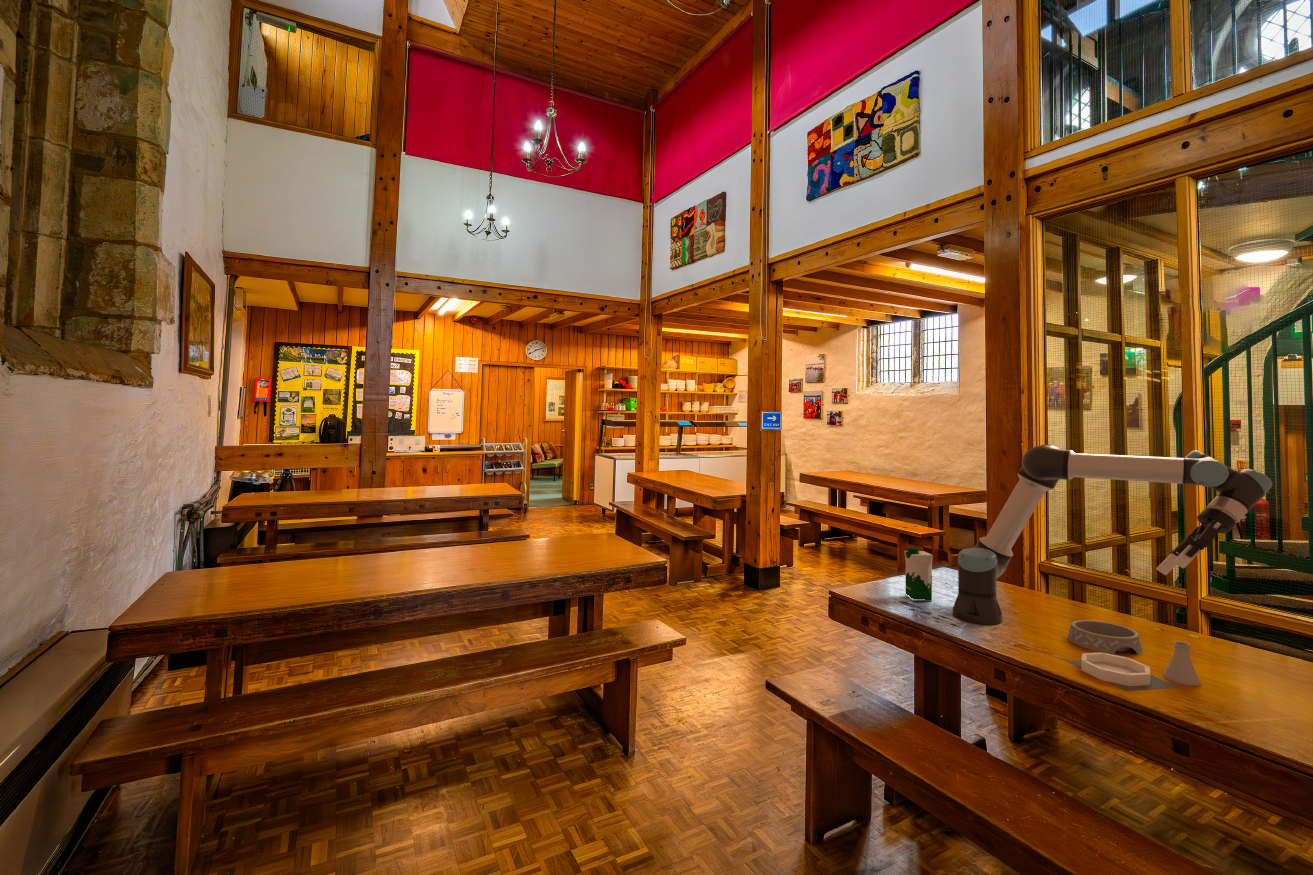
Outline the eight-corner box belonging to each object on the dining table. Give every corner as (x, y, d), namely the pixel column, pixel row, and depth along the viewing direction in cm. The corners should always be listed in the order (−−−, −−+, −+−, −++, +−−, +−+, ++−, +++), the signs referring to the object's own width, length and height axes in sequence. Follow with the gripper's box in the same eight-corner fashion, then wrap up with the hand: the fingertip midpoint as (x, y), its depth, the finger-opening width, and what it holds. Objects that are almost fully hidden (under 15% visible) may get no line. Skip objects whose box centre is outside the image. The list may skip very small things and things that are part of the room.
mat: (1066, 662, 157) (1066, 660, 157) (1115, 659, 159) (1115, 658, 159) (1125, 691, 139) (1125, 690, 139) (1179, 688, 141) (1179, 687, 141)
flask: (1208, 688, 141) (1209, 649, 141) (1175, 686, 142) (1175, 647, 142) (1187, 676, 148) (1187, 639, 148) (1156, 674, 150) (1156, 637, 149)
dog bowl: (1054, 635, 179) (1054, 618, 179) (1112, 635, 179) (1112, 618, 179) (1094, 656, 162) (1094, 638, 162) (1159, 656, 162) (1159, 638, 161)
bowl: (1068, 663, 155) (1068, 653, 155) (1115, 661, 157) (1115, 651, 157) (1114, 686, 141) (1114, 675, 141) (1164, 684, 143) (1164, 673, 143)
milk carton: (902, 595, 222) (902, 545, 222) (925, 595, 222) (925, 545, 222) (912, 602, 213) (912, 550, 213) (935, 602, 213) (935, 550, 213)
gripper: (1258, 513, 149) (1202, 571, 149) (1216, 533, 170) (1167, 583, 170) (1225, 495, 153) (1171, 552, 153) (1189, 516, 174) (1141, 566, 174)
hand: (1169, 568), depth 162 cm, fingers open, 13 cm apart
